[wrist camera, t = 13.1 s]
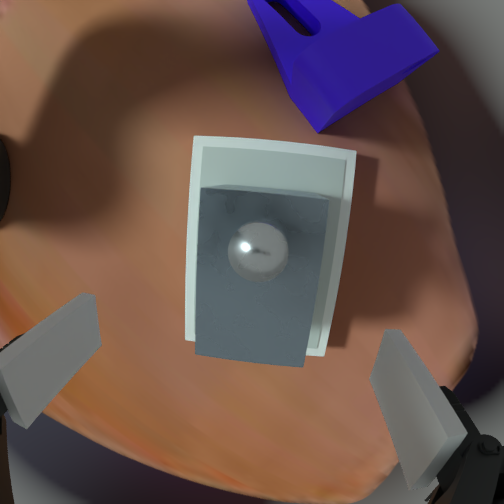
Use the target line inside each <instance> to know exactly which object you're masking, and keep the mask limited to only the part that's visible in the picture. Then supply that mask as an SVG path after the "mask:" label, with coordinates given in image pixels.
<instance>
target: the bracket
mask: <svg viewBox="0 0 504 504" xmlns="http://www.w3.org/2000/svg"><path fill="white" fill-rule="evenodd" d="M247 1H248V4H249V6H250V8H251V10H252V12H253V14H254V16H255V19H256V21H257V23H258V25H259V27H260V29H261V31H262V33H263V36H264V38H265V40H266V42H267V44H268V47H269V49H270V51H271V53H272V56H273V58H274V60H275V62H276V65H277V67H278V70H279V72H280V74H281V77H282V79H283V81H284V84H285V86H286V89H287V91H288V94H289V96H290V98H291V99H292V101H293V102H294V103H295V104H296V106H297V107H298V108H299V110H300V111H301V112H302V113H303V115H304V116H305V117H306V119H307V120H308V121H309V123H310V124H311V125H312V127H313V128H314V129H315V131H316V132H317V133H319V132H320V131H322V130H324V129H325V128H327V127H328V126H330V125H331V124H333V123H334V122H336V121H337V120H339V119H341V118H342V117H344V116H345V115H347V114H348V113H350V112H352V111H353V110H355V109H356V108H358V107H360V106H361V105H363V104H364V103H366V102H368V101H369V100H371V99H373V98H374V97H376V96H377V95H379V94H381V93H382V92H384V91H386V90H387V89H389V88H391V87H392V86H394V85H396V84H398V83H399V82H400V81H401V80H403V79H404V78H405V77H407V76H408V75H409V74H411V73H412V72H413V71H414V70H416V69H417V68H418V67H420V66H421V65H422V64H424V63H425V62H426V61H428V60H429V59H430V58H431V57H433V56H434V55H435V54H437V53H438V52H439V50H438V48H437V47H436V45H435V44H434V43H433V42H432V40H431V39H430V38H429V36H428V35H427V34H426V33H425V32H424V30H423V29H422V28H421V27H420V26H419V24H418V23H417V22H416V21H415V20H414V18H413V17H412V16H411V15H410V14H409V13H408V12H407V11H406V10H405V8H404V7H403V6H402V5H401V4H393V5H390V6H388V7H385V8H383V9H381V10H379V11H376V12H374V13H371V14H369V15H367V16H365V17H363V18H358V17H357V16H355V15H354V14H352V13H351V12H349V11H348V10H346V9H345V8H343V7H341V6H340V5H338V4H337V3H335V2H333V1H332V0H247ZM271 1H273V2H278V3H280V4H281V5H282V6H283V7H284V8H286V9H287V10H288V11H289V12H290V13H291V14H292V15H293V16H294V17H295V18H296V19H297V20H298V21H299V22H300V23H301V24H302V25H303V26H304V27H305V28H306V29H307V31H308V32H309V33H310V34H311V35H312V36H303V35H301V34H299V33H298V32H296V31H295V30H294V28H293V27H292V26H291V25H290V24H289V23H288V22H287V21H286V20H285V19H284V18H283V17H282V16H281V15H280V14H279V13H278V12H277V11H275V10H274V9H273V8H272V7H271V6H270V5H269V4H268V3H267V2H271Z"/></svg>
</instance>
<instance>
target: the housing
mask: <svg viewBox="0 0 504 504" xmlns="http://www.w3.org/2000/svg"><path fill="white" fill-rule="evenodd" d="M329 201H330V200H329V199H327V198H325V197H323V196H320V195H318V194H316V193H312V192H304V191H295V190H285V189H275V188H265V187H254V186H242V185H229V184H224V185H217V186H209V187H202V188H201V190H200V205H199V223H198V243H197V269H196V310H195V354H197V355H203V356H209V357H216V358H222V359H229V360H237V361H244V362H253V363H261V364H271V365H281V366H292V367H303V366H304V361H305V356H306V351H307V346H308V340H309V335H310V330H311V324H312V319H313V313H314V307H315V301H316V295H317V289H318V283H319V276H320V270H321V263H322V256H323V249H324V241H325V234H326V226H327V218H328V209H329Z"/></svg>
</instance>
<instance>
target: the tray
mask: <svg viewBox="0 0 504 504" xmlns="http://www.w3.org/2000/svg"><path fill="white" fill-rule="evenodd" d="M356 152H357V151H354V150H347V149H341V148H334V147H327V146H320V145H312V144H304V143H295V142H286V141H275V140H264V139H251V138H236V137H216V136H194V141H193V152H192V164H191V177H190V191H189V207H188V226H187V250H186V288H185V340H190V341H195V310H196V269H197V243H198V223H199V205H200V190H201V188H202V187H209V186H217V185H224V184H229V185H242V186H254V187H265V188H275V189H285V190H295V191H304V192H312V193H316V194H318V195H320V196H323V197H325V198H327V199H329V200H330V201H329V209H328V218H327V226H326V234H325V241H324V249H323V256H322V263H321V270H320V276H319V283H318V289H317V295H316V301H315V307H314V313H313V319H312V324H311V330H310V335H309V340H308V346H307V351H306V355H311V356H324V354H325V350H326V346H327V341H328V337H329V332H330V327H331V323H332V318H333V313H334V308H335V303H336V298H337V292H338V287H339V281H340V276H341V270H342V264H343V258H344V251H345V245H346V238H347V231H348V224H349V217H350V209H351V201H352V192H353V183H354V173H355V163H356Z"/></svg>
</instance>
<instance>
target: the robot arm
mask: <svg viewBox="0 0 504 504" xmlns="http://www.w3.org/2000/svg"><path fill="white" fill-rule="evenodd" d="M9 190H10V166H9V160H8V155H7V152H6V149H5V146H4V144H3V143H2V141H1V140H0V221H1V219H2V217H3V215H4V212H5V210H6V206H7V202H8V197H9ZM101 345H102V344H101V337H100V331H99V323H98V316H97V308H96V299H95V295H92V294H87V293H81V294H79V295H78V296H77V297H75V298H74V299H72V300H71V301H69V302H68V303H67V304H65V305H64V306H62V307H61V308H59V309H58V310H57V311H55V312H54V313H52V314H51V315H50V316H48V317H47V318H45V319H44V320H43V321H41V322H40V323H39V324H37V325H36V326H34V327H33V328H32V329H30V330H29V331H28V332H26V333H24V334H22V335H19V336H17V337H15V338H14V339H13V340H11V341H10V342H9V344H6V345H5V346H3V348H1V349H0V504H14V499H13V493H12V486H11V479H10V471H9V462H8V452H7V451H8V450H7V433H6V419H5V416H4V415H3V414H4V413H5V412H6V411H7V410H8V412H9V414H10V416H11V418H12V420H13V421H14V422H15V423H17V424H19V425H20V426H22V427H24V428H26V429H27V428H28V427H29V426H30V425H31V423H32V422H33V421H34V420H35V419H36V418H37V416H38V415H39V414H40V413H41V412H42V411H43V410H44V408H45V407H46V406H47V405H48V404H49V403H50V402H51V400H52V399H53V398H54V397H55V396H56V395H57V394H58V392H59V391H60V390H61V389H62V388H63V387H64V386H65V385H66V384H67V382H68V381H69V380H70V379H71V378H72V377H73V376H74V375H75V374H76V372H77V371H78V370H79V369H80V368H81V367H82V366H83V365H84V364H85V363H86V362H87V360H88V359H89V358H90V357H91V356H92V355H93V354H94V353H95V352H96V351H97V350H98V349H99V348H100V346H101ZM369 380H370V382H371V385H372V387H373V390H374V392H375V395H376V398H377V400H378V403H379V405H380V408H381V411H382V413H383V416H384V419H385V421H386V424H387V427H388V430H389V432H390V435H391V438H392V441H393V444H394V447H395V449H396V452H397V455H398V458H399V461H400V464H401V467H402V470H403V473H404V476H405V479H406V482H407V486H408V489H409V490H414V489H418V488H423V487H428V486H429V485H430V483H431V482H432V481H433V480H434V479H435V477H437V479H438V482H439V485H438V486H437V487H436V488H435V489H434V490H433V491H432V493H431V494H430V495H429V496H428V497H427V498H426V499H425V501H428V500H429V499H430V500H429V502H428V504H504V446H502V445H501V443H500V442H499V441H498V440H497V439H496V438H494V437H492V436H490V435H485V434H483V435H481V434H480V433H479V431H478V429H477V428H476V426H475V425H474V423H473V421H472V420H471V418H470V417H469V415H468V414H467V412H466V411H464V407H463V406H462V404H460V402H459V400H458V398H457V397H456V395H455V394H454V393H453V392H452V391H451V390H449V389H448V388H447V387H446V386H438V384H437V383H436V381H435V380H434V378H433V377H432V375H431V373H430V372H429V370H428V369H427V367H426V366H425V365H424V363H423V362H422V360H421V359H420V357H419V356H418V354H417V353H416V351H415V350H414V348H413V347H412V346H411V344H410V343H409V341H408V340H407V338H406V337H405V336H404V334H403V333H402V331H401V330H396V329H385V332H384V335H383V338H382V342H381V345H380V348H379V352H378V355H377V358H376V361H375V364H374V367H373V370H372V373H371V376H370V379H369Z"/></svg>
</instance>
